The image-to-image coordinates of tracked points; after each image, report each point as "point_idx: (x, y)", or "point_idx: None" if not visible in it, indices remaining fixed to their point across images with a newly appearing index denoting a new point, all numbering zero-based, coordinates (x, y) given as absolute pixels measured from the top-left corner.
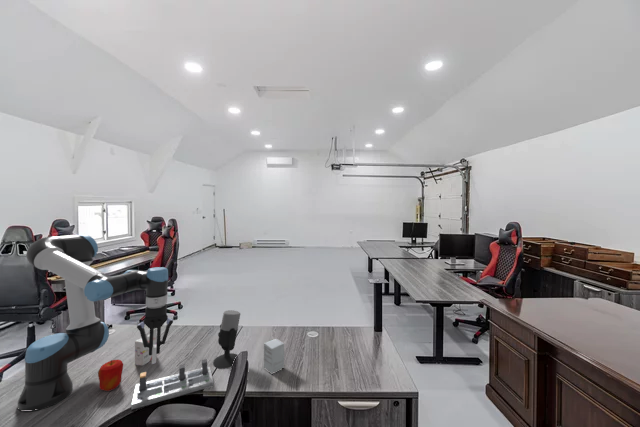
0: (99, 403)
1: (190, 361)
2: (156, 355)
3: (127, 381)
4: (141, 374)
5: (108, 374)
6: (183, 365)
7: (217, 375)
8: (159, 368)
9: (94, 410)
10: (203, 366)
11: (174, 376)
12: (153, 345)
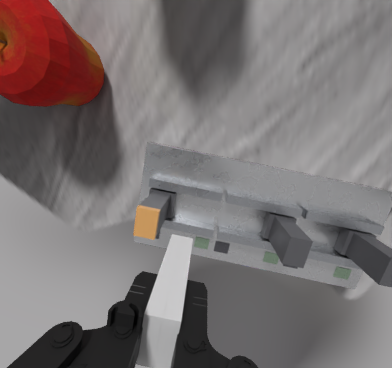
0: (63, 150)
1: (357, 69)
2: (189, 259)
3: (128, 70)
4: (139, 221)
5: (21, 103)
6: (304, 250)
7: (385, 237)
8: (237, 44)
9: (57, 176)
10: (370, 274)
11: (261, 206)
12: (149, 323)
